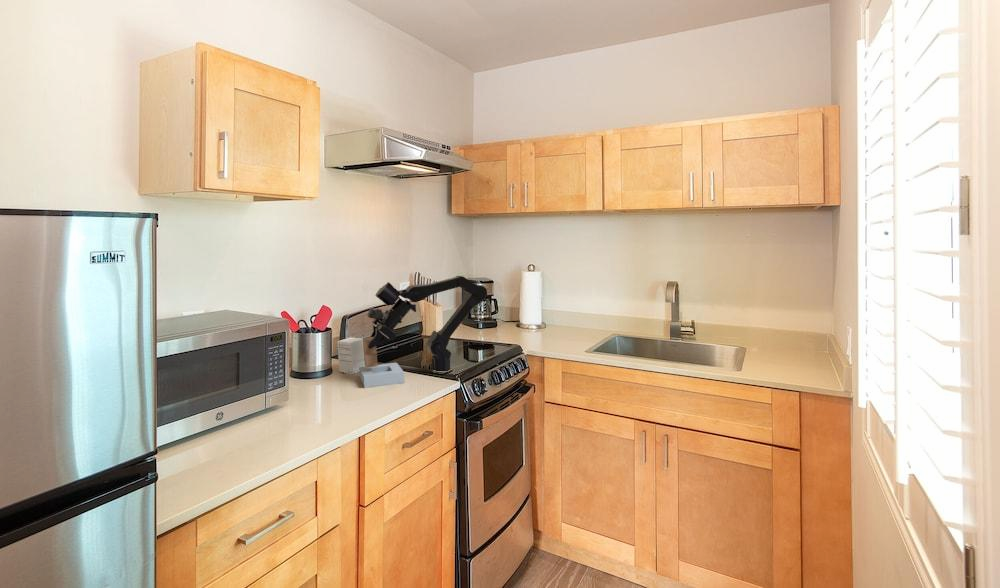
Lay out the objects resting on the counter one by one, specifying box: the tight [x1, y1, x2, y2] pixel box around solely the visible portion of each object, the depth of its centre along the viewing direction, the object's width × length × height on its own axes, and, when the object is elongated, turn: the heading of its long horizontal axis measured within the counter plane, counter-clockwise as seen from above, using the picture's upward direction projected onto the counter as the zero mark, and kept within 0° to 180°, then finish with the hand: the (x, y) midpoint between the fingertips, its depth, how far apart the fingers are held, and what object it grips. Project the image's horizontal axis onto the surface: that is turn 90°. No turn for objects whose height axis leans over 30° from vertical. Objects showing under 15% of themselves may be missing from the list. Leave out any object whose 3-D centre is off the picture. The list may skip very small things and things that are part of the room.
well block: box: [358, 362, 405, 389], centre depth 177 cm, size 14×14×4 cm
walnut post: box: [362, 336, 379, 368], centre depth 174 cm, size 4×4×10 cm
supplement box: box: [336, 337, 365, 375], centre depth 189 cm, size 7×7×13 cm
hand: (368, 346), depth 174 cm, fingers closed on walnut post, 4 cm apart
